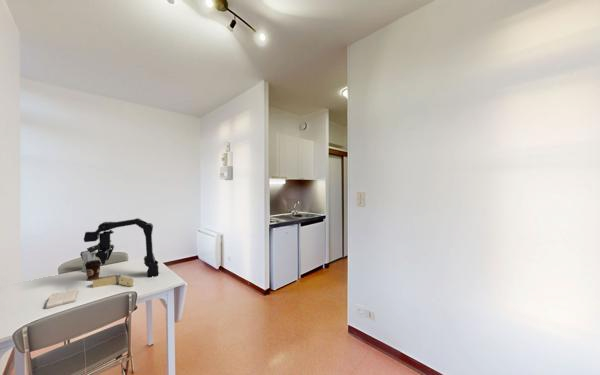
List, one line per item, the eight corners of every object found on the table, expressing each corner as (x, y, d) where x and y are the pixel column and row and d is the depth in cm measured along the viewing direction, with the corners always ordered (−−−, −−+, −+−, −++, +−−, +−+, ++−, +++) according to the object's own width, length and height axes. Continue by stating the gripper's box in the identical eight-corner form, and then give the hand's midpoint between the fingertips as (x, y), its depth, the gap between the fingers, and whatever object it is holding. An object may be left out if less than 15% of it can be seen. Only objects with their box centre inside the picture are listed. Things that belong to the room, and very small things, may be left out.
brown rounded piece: (90, 282, 155) (90, 264, 155) (81, 281, 157) (81, 263, 156) (104, 277, 164) (103, 259, 163) (95, 276, 165) (94, 258, 165)
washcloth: (78, 291, 143) (78, 286, 143) (76, 302, 130) (76, 297, 130) (51, 297, 135) (51, 292, 135) (45, 310, 122) (45, 304, 122)
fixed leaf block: (117, 281, 156) (117, 274, 156) (115, 283, 153) (115, 276, 153) (94, 285, 151) (94, 278, 151) (92, 287, 147) (92, 280, 147)
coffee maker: (101, 268, 179) (101, 246, 178) (88, 273, 170) (88, 250, 170) (87, 267, 182) (87, 245, 182) (74, 271, 173) (74, 248, 173)
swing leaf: (114, 284, 152) (114, 276, 152) (118, 282, 154) (118, 274, 154) (130, 287, 148) (130, 279, 148) (134, 285, 150) (134, 277, 150)
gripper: (94, 238, 158) (94, 260, 158) (84, 245, 141) (84, 269, 142) (114, 236, 163) (114, 257, 163) (106, 243, 147) (107, 266, 147)
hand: (105, 262), depth 154 cm, fingers open, 9 cm apart
